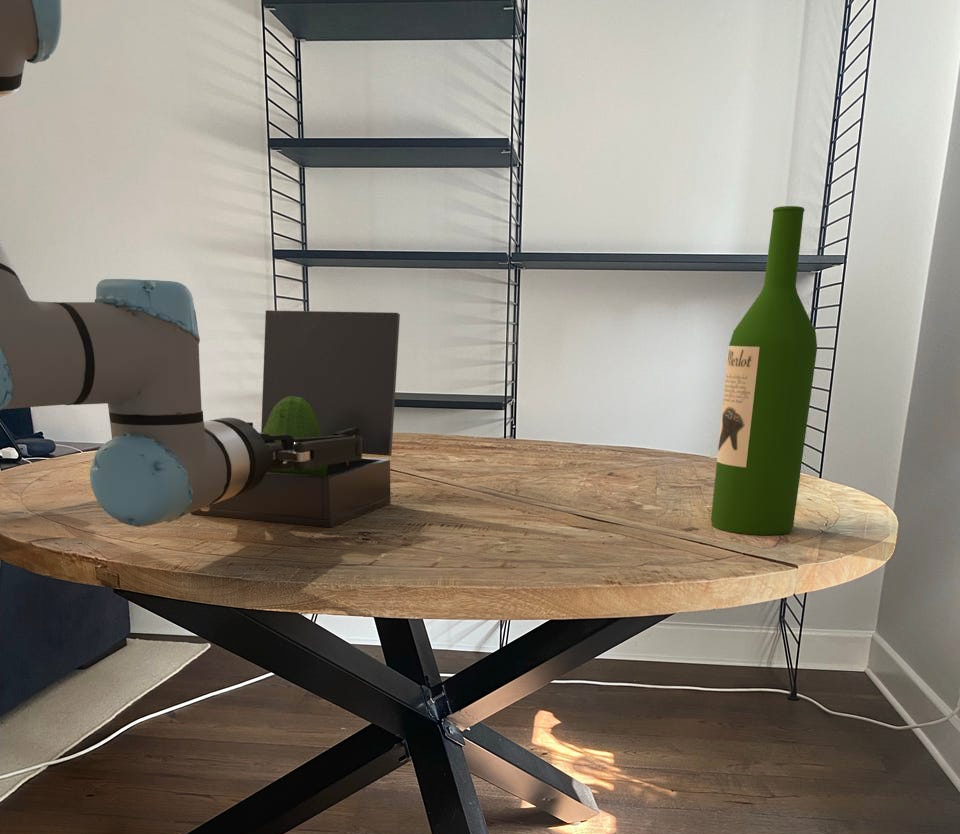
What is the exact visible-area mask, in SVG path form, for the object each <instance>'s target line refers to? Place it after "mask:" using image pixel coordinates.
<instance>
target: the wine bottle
mask: <svg viewBox="0 0 960 834" xmlns="http://www.w3.org/2000/svg"><path fill="white" fill-rule="evenodd" d="M804 214H805V207H804V206H799V205H798V206H797V205H785V206H783V205H782V206H777V207H774V208H773V210H772V220H771V229H770V234H769V235H770V236H769V244H768V251H767V259H766V267H765V274H764V281H763V285H762V288H761V290H760V293H759V294H758V295H757V297H756V298H755V300H754V301H753V303H751V305H750V307H749V308H748V310H747V311H746V313H745V314H744V316H743V317H742V318H741V320H740V321H739V322H738V324H737V325H736V326H735V328H734V330H733V331H732V335H731V337H730V340H729V344H728V348H727V349H728V350H727V359H726V368H725V377H724V378H725V379H724V388H723V397H722V406H721V407H722V408H721V416H720V417H721V418H720V426H719V436H718V447H717V454H716V465H715V476H714V485H713V494H712V504H711V505H712V506H711V514H710V522H711V526H712V527H714V528H715V529H718V530H721V531H724V532H729V533H735V534H742V535H743V534H744V535H751V536H777V535H778V536H779V535H784V534H788V533H790V532H792V529H793V528H794V525H795V516H796V509H797V501H798V496H799V494H798V493H799V487H800V478H801V473H802V464H803V456H804V450H805V449H804V448H805V441H806V434H807V429H808V428H807V426H808V420H809V411H810V404H811V397H812V390H813V381H814V375H815V367H816V359H817V352H818V342H817V332H816V330H815V327H814V325H813V323H812V321H811V319H810V317H809V315H808V313H807V311H806V309H805V307H804V303H803V302H802V300H801V298H800V296H799V294H798V290H797V277H798V268H799V259H800V250H801V249H800V248H801V241H802V231H803V221H804Z"/></svg>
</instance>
